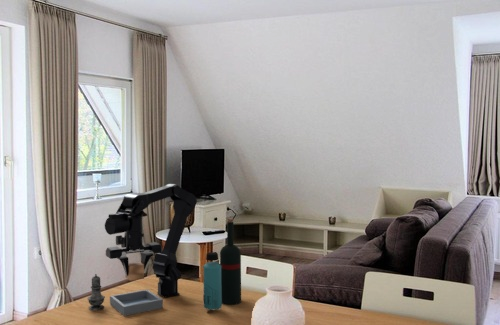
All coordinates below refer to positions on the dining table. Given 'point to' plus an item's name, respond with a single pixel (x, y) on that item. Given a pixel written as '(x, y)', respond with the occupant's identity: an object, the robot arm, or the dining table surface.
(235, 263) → the wine bottle
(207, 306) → the beverage bottle
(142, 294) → the low wall corral
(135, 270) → the light brown block
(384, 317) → the dining table surface
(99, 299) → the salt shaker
